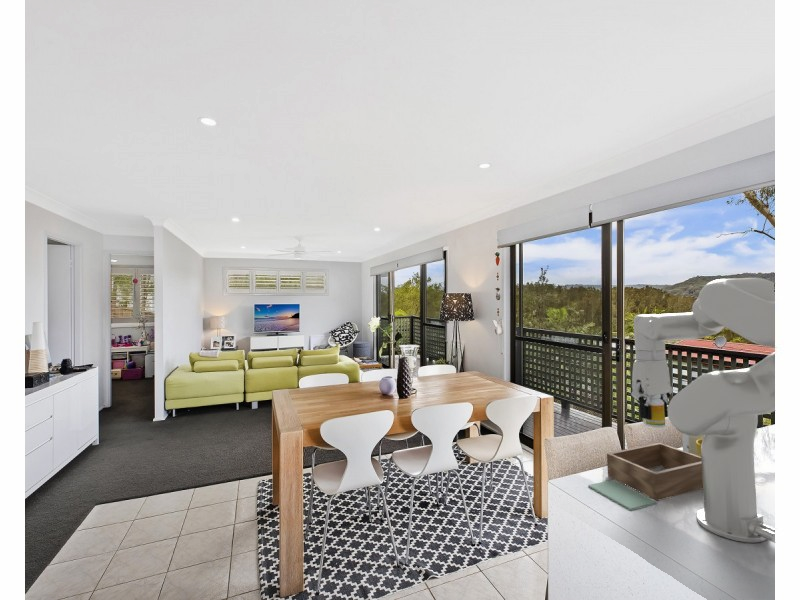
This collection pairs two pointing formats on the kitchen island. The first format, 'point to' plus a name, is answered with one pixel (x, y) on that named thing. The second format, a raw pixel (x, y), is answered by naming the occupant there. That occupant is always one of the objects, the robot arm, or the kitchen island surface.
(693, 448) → the skincare box
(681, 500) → the kitchen island surface
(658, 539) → the kitchen island surface
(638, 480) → the box
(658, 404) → the supplement bottle
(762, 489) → the kitchen island surface
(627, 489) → the mat
